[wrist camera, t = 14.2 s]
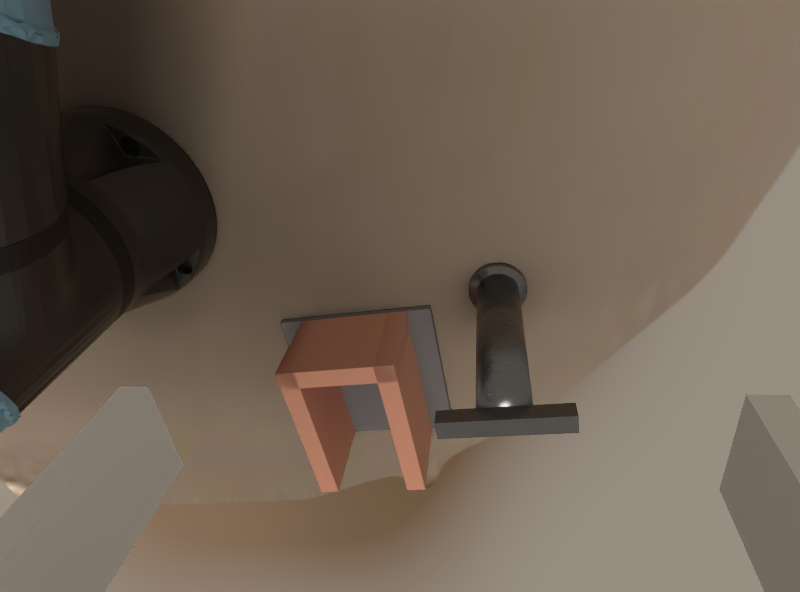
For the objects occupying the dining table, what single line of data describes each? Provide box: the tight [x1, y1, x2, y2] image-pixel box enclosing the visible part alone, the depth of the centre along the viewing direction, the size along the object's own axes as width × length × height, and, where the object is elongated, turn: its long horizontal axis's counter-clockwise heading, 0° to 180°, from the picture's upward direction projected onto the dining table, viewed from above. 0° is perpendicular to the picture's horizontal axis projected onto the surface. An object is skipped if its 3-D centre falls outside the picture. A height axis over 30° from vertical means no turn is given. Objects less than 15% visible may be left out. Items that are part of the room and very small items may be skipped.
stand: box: [434, 263, 579, 439], centre depth 35 cm, size 8×4×15 cm, turn 101°
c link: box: [275, 311, 432, 492], centre depth 44 cm, size 9×13×7 cm
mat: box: [280, 305, 451, 431], centre depth 47 cm, size 13×13×1 cm
